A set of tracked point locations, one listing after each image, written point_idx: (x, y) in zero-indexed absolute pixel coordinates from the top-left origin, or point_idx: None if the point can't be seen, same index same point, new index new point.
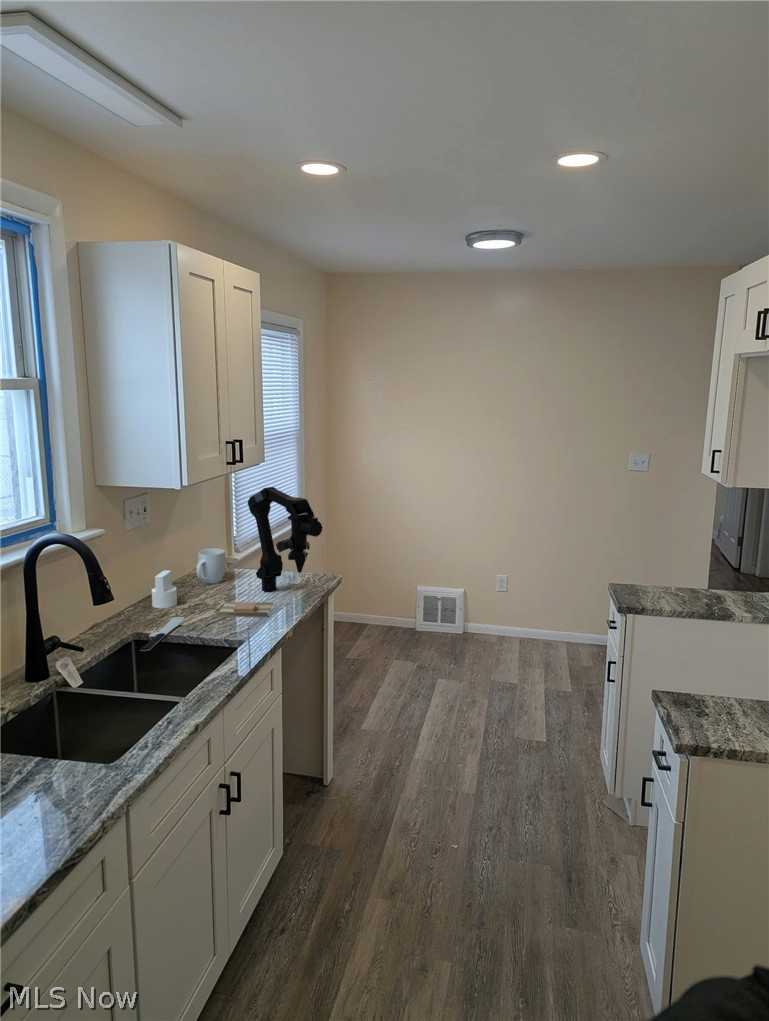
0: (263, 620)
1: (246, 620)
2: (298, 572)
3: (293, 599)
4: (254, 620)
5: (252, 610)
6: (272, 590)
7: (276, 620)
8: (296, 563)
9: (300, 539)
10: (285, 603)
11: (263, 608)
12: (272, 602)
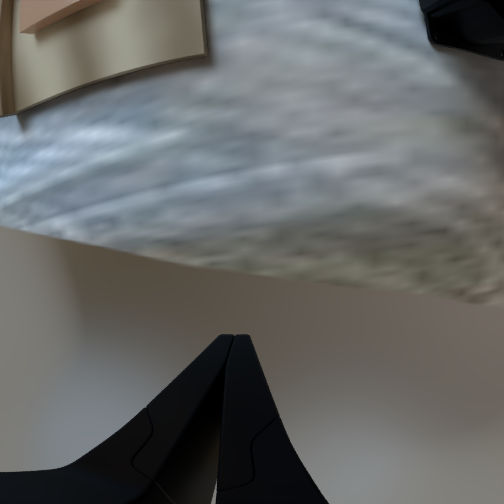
0: None
1: None
2: (218, 338)
3: (335, 159)
4: None
5: (25, 30)
6: (443, 19)
7: (14, 158)
8: (126, 435)
9: None
10: (248, 121)
11: (92, 43)
12: (203, 48)
